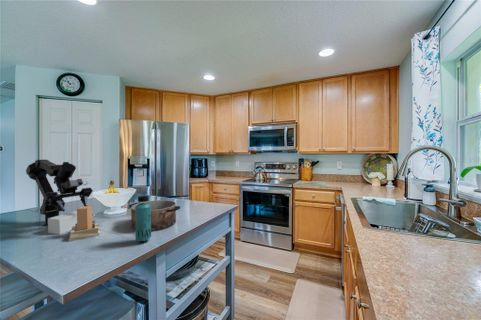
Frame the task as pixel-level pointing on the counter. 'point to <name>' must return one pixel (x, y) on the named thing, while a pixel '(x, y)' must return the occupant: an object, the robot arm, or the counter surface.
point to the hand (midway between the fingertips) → (75, 208)
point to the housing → (84, 232)
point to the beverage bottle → (143, 219)
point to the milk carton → (62, 223)
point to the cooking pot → (158, 214)
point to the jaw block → (84, 218)
